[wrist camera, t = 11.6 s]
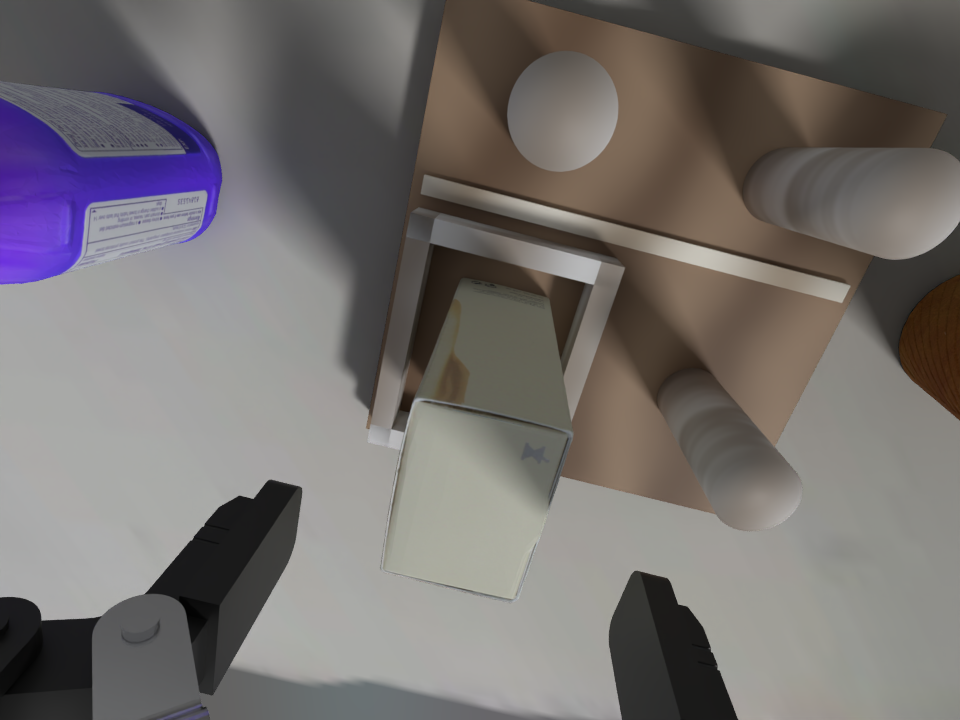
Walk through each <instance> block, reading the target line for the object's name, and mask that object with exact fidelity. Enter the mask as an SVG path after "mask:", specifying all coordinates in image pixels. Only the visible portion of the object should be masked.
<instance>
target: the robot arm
mask: <svg viewBox="0 0 960 720" xmlns="http://www.w3.org/2000/svg"><path fill="white" fill-rule="evenodd" d="M301 498H302V488H301V487H299V486H295V485H291V484H287V483H283V482H279V481H275V480H268V481H267V482H266V483H265V485H264V486H263V487H262V489H261V490H260V491H259V493H258V494H257V495H256V496H255V498H254V499H251V498H247V497H243V496H238V497H236V498H234V499H233V500H231V501H229V502H227V503H226V504H224V505H222V506H220V507H219V508H218V509H217V510H216V511H215V512H214V514H213V515H212V516H211V517H210V518H209V519H208V521H207V522H206V523H205V526H204V527H202V528H201V529H200V530H199V531H198V532H197V534H196V535H195V536H194V538H193V540H192V541H190V542H189V543H188V544H187V545H186V547H185V548H184V549H183V550H182V551H181V552H180V554H179V555H178V556H177V557H176V558H175V560H174V561H173V562H172V563H171V564H170V565H169V567H168V568H167V569H166V570H165V571H164V572H163V574H162V575H161V576H160V577H159V578H158V580H157V581H156V582H155V583H154V584H153V585H152V587H151V588H150V589H149V590H148V591H147V592H146V593H145V594H144V595H139V596H135V597H132V598H129V599H127V600H124V601H122V602H120V603H118V604H117V605H115V606H113V607H112V608H111V609H109V610H108V611H107V612H106V613H105V614H104V615H103V616H101V617H96V618H87V619H67V620H45V621H41V613H40V610H39V609H38V607H37V606H36V605H35V604H34V603H33V602H31V601H29V600H26V599H22V598H16V597H2V598H0V720H210V716H209V713H208V710H207V708H206V707H202V703H201V699H200V693H205V694H209V695H213V694H214V692H215V690H216V689H217V687H218V685H219V684H220V682H221V680H222V678H223V677H224V675H225V673H226V671H227V669H228V668H229V666H230V664H231V662H232V661H233V659H234V657H235V655H236V654H237V652H238V650H239V648H240V647H241V645H242V643H243V641H244V640H245V638H246V636H247V634H248V632H249V631H250V629H251V627H252V625H253V624H254V622H255V620H256V618H257V617H258V615H259V613H260V611H261V610H262V608H263V606H264V604H265V603H266V601H267V599H268V597H269V596H270V594H271V592H272V590H273V588H274V587H275V585H276V583H277V581H278V580H279V578H280V576H281V574H282V573H283V571H284V569H285V567H286V565H287V563H288V561H289V559H290V556H291V554H292V551H293V548H294V544H295V540H296V534H297V527H298V520H299V512H300V505H301ZM609 647H610V653H611V659H612V664H613V670H614V676H615V682H616V687H617V693H618V699H619V705H620V710H621V716H622V720H738V719H737V716H736V713H735V711H734V708H733V705H732V703H731V700H730V697H729V695H728V692H727V689H726V687H725V684H724V681H723V679H722V676H721V673H720V671H719V670H717V667H718V666H717V663H716V660H715V658H714V655H713V653H711V647H710V644H709V642H708V639H707V636H706V634H705V631H704V628H703V627H702V625H701V624H700V623H699V621H698V620H697V619H696V617H695V616H694V615H693V613H692V612H691V611H690V609H689V608H688V607H686V606H682V605H678V603H677V600H676V597H675V594H674V591H673V588H672V585H671V583H670V581H669V580H668V579H667V578H664V577H660V576H656V575H652V574H648V573H644V572H640V571H634V572H633V573H632V575H631V577H630V579H629V581H628V583H627V585H626V588H625V590H624V592H623V594H622V597H621V599H620V601H619V603H618V605H617V608H616V610H615V612H614V614H613V617H612V620H611V624H610V630H609ZM199 692H200V693H199Z"/></svg>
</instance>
